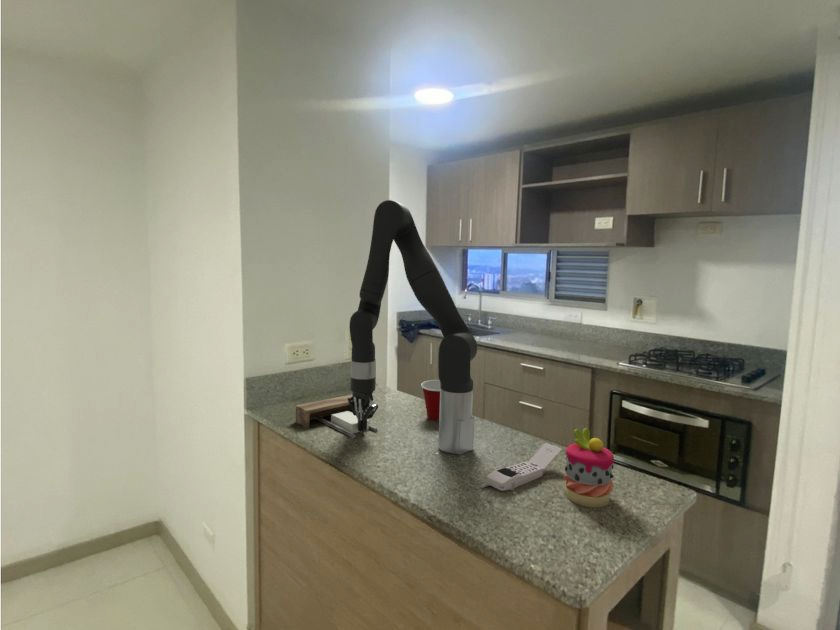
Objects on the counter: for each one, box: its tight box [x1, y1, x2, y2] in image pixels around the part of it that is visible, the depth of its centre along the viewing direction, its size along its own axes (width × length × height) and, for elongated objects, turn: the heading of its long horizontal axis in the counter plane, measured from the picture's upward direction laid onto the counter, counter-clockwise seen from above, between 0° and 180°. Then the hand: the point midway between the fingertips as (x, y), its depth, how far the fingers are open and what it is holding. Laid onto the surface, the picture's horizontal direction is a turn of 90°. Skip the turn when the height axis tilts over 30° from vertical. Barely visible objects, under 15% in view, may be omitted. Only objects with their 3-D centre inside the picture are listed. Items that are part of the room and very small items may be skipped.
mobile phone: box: [480, 442, 563, 492], centre depth 117 cm, size 6×6×25 cm
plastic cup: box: [420, 379, 440, 421], centre depth 160 cm, size 11×11×12 cm
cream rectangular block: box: [330, 411, 370, 434], centre depth 150 cm, size 12×6×3 cm, turn 42°
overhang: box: [295, 393, 378, 439], centre depth 151 cm, size 23×22×6 cm
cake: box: [562, 427, 615, 508], centre depth 107 cm, size 10×11×15 cm
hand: (362, 430), depth 144 cm, fingers closed
